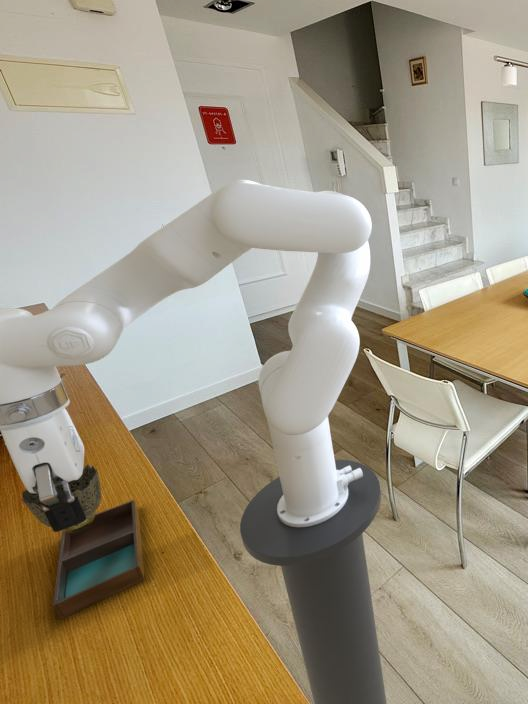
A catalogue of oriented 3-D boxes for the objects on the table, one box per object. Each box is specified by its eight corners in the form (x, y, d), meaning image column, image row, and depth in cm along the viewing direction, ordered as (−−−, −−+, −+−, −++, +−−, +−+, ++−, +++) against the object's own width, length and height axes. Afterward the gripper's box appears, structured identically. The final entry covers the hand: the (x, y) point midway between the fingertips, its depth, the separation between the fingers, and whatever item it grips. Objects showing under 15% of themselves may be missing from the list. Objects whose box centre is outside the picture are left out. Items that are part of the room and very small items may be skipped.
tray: (139, 512, 77) (134, 499, 76) (144, 580, 65) (138, 566, 64) (69, 539, 71) (62, 526, 70) (60, 620, 59) (52, 605, 58)
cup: (70, 550, 57) (49, 505, 54) (28, 541, 58) (5, 497, 55) (126, 509, 64) (110, 467, 61) (87, 502, 65) (69, 460, 62)
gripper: (61, 421, 50) (107, 531, 56) (70, 370, 62) (108, 466, 68) (-37, 447, 45) (26, 564, 52) (-7, 386, 57) (41, 487, 64)
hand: (72, 507), depth 60 cm, fingers closed on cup, 7 cm apart
